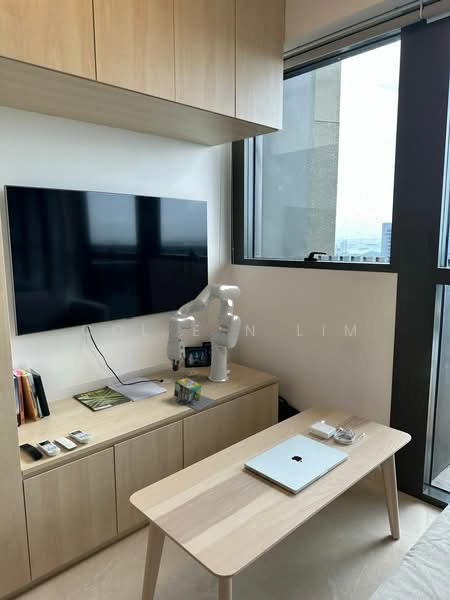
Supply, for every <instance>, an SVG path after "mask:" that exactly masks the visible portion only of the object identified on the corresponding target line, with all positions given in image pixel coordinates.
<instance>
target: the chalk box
mask: <svg viewBox="0 0 450 600" xmlns="http://www.w3.org/2000/svg"><path fill="white" fill-rule="evenodd" d="M174 384H175V385H174V391H173V396H174V398H176V399H177V400H178V399H180V400H181V401H183V402H185V403H186V404H187V405H188V404H191V403H193V402H197V401H198V400H200V395H201V393H202V391H201V390H202V389H201V388H202V385H201V384H200V383H198V382H196V381H194V380H192V379H190V378H188V377H185V378H182V379H179V380H176V381H175V382H174Z"/></svg>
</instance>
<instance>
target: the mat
mask: <svg viewBox="0 0 450 600" xmlns="http://www.w3.org/2000/svg"><path fill="white" fill-rule="evenodd" d="M217 402H218V400H216V399H213V398H211V397H208V396H205V395H202V394H200V400H198V401H197V402H193V403H191V404H188V405H187V404H186V403H185V402H183V401H181V400H180V399H178V398H177V399H175V403H177V404H179V405H182V406H184V405H185V407H187V406H188V408H190V409H193V410H196V411H198V412H199V411H201V410H204V409H206V408H208V407H209V406H211V405H213V404H215V403H217Z"/></svg>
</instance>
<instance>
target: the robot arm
mask: <svg viewBox="0 0 450 600" xmlns="http://www.w3.org/2000/svg"><path fill="white" fill-rule="evenodd" d="M240 296H241V289H240V287H239V286H237V285H232V284H226V283H225V284H224V283H220V284H217V283H215V284H214V283H210V284H207V285H206V287H204V289H203V290H201V292H199V294H198V296H197V297H196V298H195V299H194V300H193V299H192V300H191V301H189V302H187V303H186V304H183V305H182V306H181V307H180V308H179V309H178V310H177V311H176V312H175V313H174V315H173V316H171V317H169V318H168V320H167V323H168V325H167V327H168V328H167V329H168V330H167V332H168V335H167V336H168V337H167V339H168V341H167V345H166V357H167V358H168V360H169V361H170V362H171V364H172V371H173V372H178V371H179V370H180V369H179V368H180V367H179V366H180V365H179V364H180V363H181V364H182V363H183V362H184V359H185V358H186V349H185V344H184V338H183V330H191V329H193V328H194V327H196V323H197V322H196V319H195V317H193V316H192V314H194V313H197V312H203V311H205V310H206V309H208V307H209V306H210V305H211V304H212V302H213V301H215V299H216V300H219V309H218V310H219V311H218V315H217V319H216V324H217V327H219V328H221V329H214V330H212V332H211V334H210V344H211V367H210V368H211V369H210V375H209V376H208V380H209V381H211V382H215V383H224V382H227V381H229V379H230V378H229V376H228V374H230V373H231V370H230V369H227V361H228V360H227V359H228V358H227V357H228V351H227V348H228V349H232V348H234V347H236V345H237V343H238V339H239V335H240V331H241V325H242V320H241V318H240V316H239V315H237V314H233V313H234V307H235V305H234V301H235V300H237V299H239V298H240ZM223 329H226V330H223Z"/></svg>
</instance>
